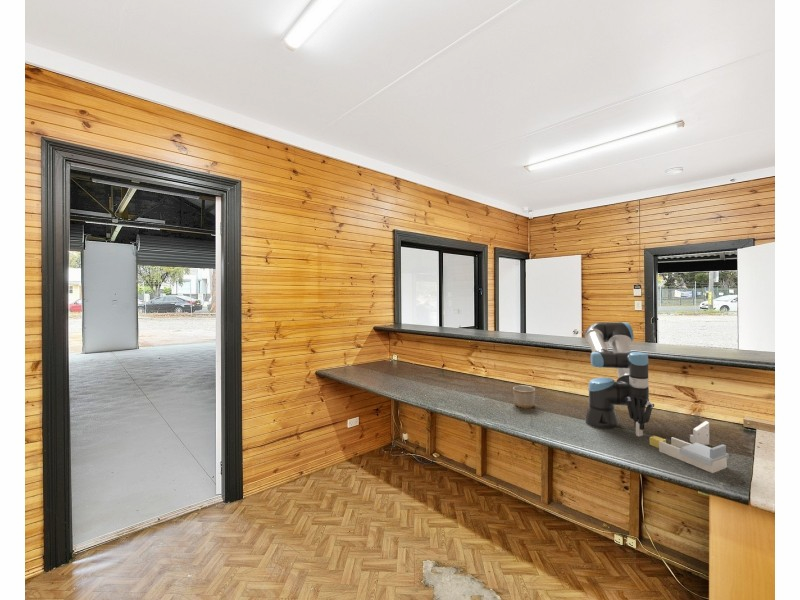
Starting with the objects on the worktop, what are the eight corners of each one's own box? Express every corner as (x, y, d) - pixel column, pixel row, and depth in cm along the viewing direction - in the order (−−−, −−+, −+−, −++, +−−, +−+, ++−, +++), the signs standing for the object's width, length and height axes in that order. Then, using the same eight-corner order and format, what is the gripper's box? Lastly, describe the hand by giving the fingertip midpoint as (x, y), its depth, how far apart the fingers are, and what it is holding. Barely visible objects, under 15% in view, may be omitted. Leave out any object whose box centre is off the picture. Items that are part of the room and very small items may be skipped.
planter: (513, 408, 218) (512, 391, 217) (513, 401, 230) (513, 384, 229) (535, 409, 214) (535, 392, 213) (535, 402, 226) (534, 385, 225)
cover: (679, 453, 151) (679, 439, 150) (697, 447, 155) (697, 433, 154) (710, 465, 140) (710, 450, 140) (728, 458, 145) (728, 444, 144)
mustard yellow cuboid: (649, 444, 166) (649, 437, 166) (654, 443, 168) (654, 435, 167) (661, 449, 162) (661, 441, 161) (666, 447, 163) (666, 439, 163)
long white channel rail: (659, 451, 160) (659, 441, 159) (672, 446, 163) (672, 437, 163) (712, 473, 141) (712, 462, 141) (726, 467, 144) (726, 456, 144)
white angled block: (718, 438, 163) (709, 422, 163) (699, 450, 163) (690, 434, 163) (711, 434, 167) (702, 419, 166) (692, 446, 167) (683, 431, 166)
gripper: (620, 383, 175) (620, 431, 177) (647, 390, 163) (647, 442, 165) (631, 381, 178) (631, 428, 180) (658, 388, 166) (658, 439, 168)
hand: (639, 435), depth 172 cm, fingers closed
